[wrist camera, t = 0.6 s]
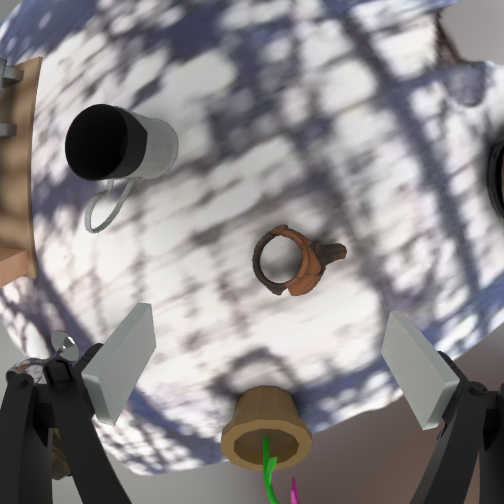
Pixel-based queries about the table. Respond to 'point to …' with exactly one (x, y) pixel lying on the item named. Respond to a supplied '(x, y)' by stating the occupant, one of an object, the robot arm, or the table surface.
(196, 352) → the table surface
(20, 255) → the socket block
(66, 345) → the wine glass
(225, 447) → the flowerpot
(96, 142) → the glass holder
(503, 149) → the amphora vase
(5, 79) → the grey bridge block
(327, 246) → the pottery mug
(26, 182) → the base board
